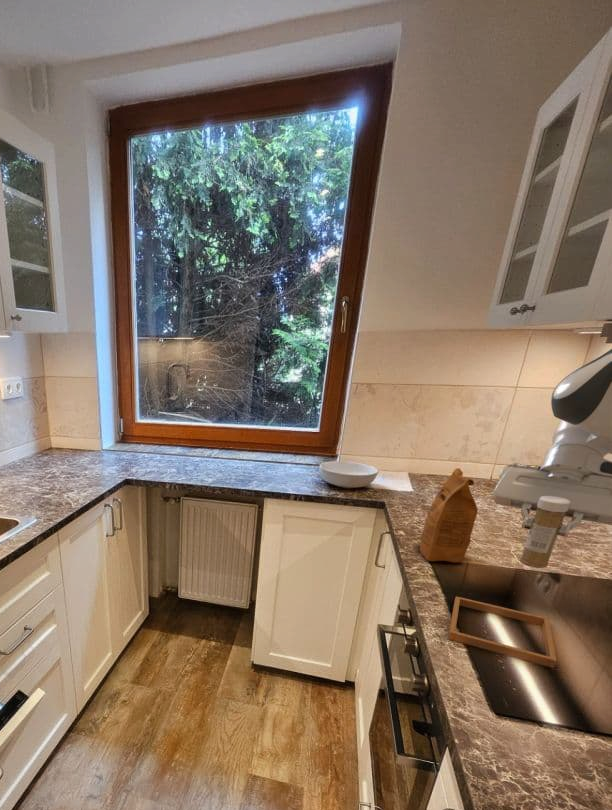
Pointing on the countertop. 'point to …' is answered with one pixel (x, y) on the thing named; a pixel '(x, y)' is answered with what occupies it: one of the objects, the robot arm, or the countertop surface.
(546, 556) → the sprinkles bottle
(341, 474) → the serving bowl
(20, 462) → the countertop surface
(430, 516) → the coffee package
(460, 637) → the wooden frame
